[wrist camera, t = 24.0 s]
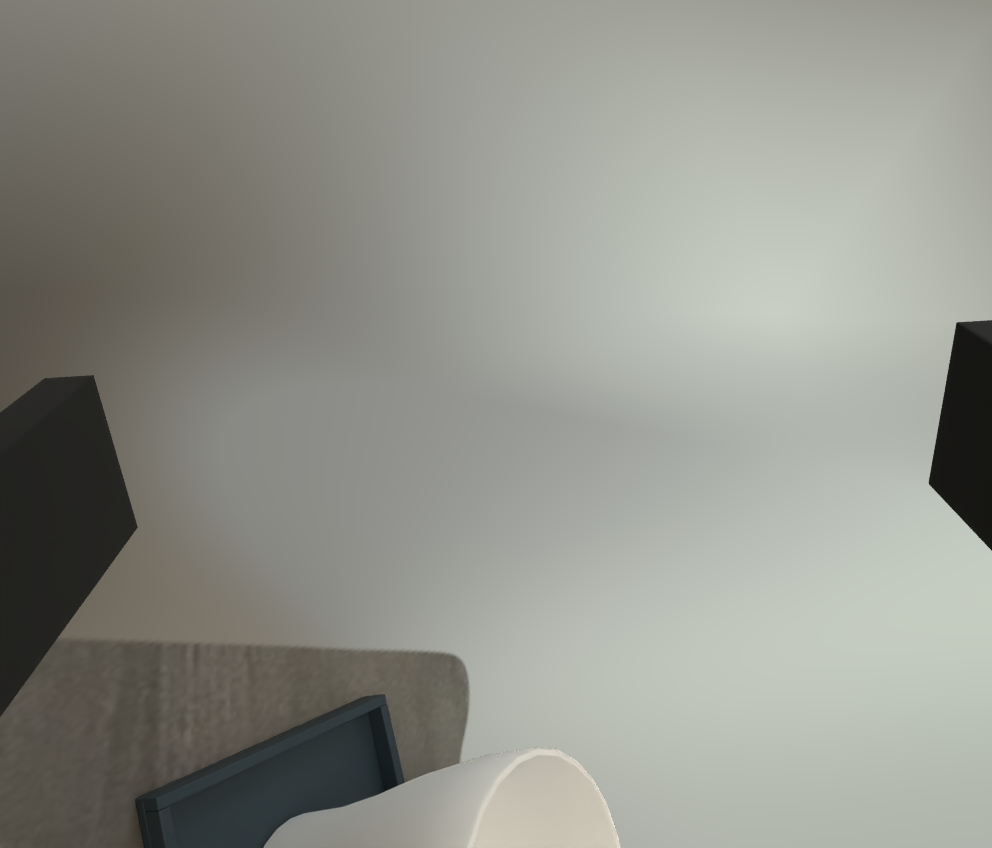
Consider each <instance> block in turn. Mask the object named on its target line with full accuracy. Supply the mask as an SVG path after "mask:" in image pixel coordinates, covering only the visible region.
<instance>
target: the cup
mask: <svg viewBox="0 0 992 848" xmlns="http://www.w3.org/2000/svg"><path fill="white" fill-rule="evenodd" d="M264 848H620V843H619V838H618V834H617V832H616V829H615V826H614V823H613V820H612V817H611V814H610V811H609V808H608V805H607V803H606V801H605V800H604V798H603V796H602V794H601V792H600V790H599V789H598V787H597V785H596V783H595V781H594V780H593V778H592V777H591V776H590V775H589V774H588V773H587V772H586V771H585V769H584V768H583V767H582V766H581V765H580V764H579V763H578V762H577V761H576V760H575V759H573V758H571V757H570V756H568V755H566V754H564V753H563V752H561V751H559V750H557V749H552V748H537V747H535V748H528V749H522V750H516V751H510V752H503V753H497V754H490V755H485V756H482V757H478V758H475V759H472V760H469V761H466V762H462V763H459V764H456V765H453V766H450V767H447V768H443V769H440V770H437V771H434V772H431V773H427V774H425V775H422V776H420V777H417V778H415V779H412V780H410V781H407V782H405V783H403V784H401V785H399V786H396V787H394V788H392V789H390V790H387V791H385V792H383V793H381V794H378V795H376V796H373V797H370V798H367V799H364V800H361V801H358V802H355V803H353V804H350V805H347V806H344V807H339V808H333V809H327V810H321V811H315V812H309V813H303V814H301V815H298V816H296V817H293V818H291V819H289V820H288V821H287V822H285V823H284V824H283V825H281V826H280V827H279V828H278V829H277V830H276V831H275V832H274V833H273V835H272V836H271V837H270V839H269V840H268V841H267V842H266V844H265V846H264Z"/></svg>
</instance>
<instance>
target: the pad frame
mask: <svg viewBox="0 0 992 848" xmlns="http://www.w3.org/2000/svg"><path fill="white" fill-rule="evenodd" d="M386 703H387V702H386V698H385V695H384V694H382V695H373V696H365V697H362V698H360V699H358V700H356V701H353V702H351V703H349V704H347V705H345V706H342V707H340V708H338V709H336V710H333V711H331V712H329V713H327V714H324V715H322V716H320V717H318V718H315V719H313V720H311V721H309V722H306V723H304V724H302V725H300V726H297V727H295V728H293V729H291V730H288V731H286V732H284V733H282V734H279V735H277V736H275V737H273V738H270V739H268V740H266V741H264V742H262V743H259V744H257V745H255V746H253V747H250V748H248V749H246V750H244V751H241V752H239V753H237V754H235V755H232V756H230V757H228V758H226V759H223V760H221V761H219V762H217V763H214V764H212V765H210V766H208V767H205V768H203V769H201V770H199V771H196V772H194V773H192V774H190V775H187V776H185V777H183V778H181V779H179V780H176V781H174V782H172V783H170V784H167V785H165V786H163V787H161V788H158V789H156V790H154V791H152V792H149V793H147V794H145V795H143V796H140V797H138V798H136V805H137V811H138V816H139V821H140V827H141V832H142V837H143V842H144V848H264V846H265V844H266V842H267V841H268V840H269V839H270V837H271V836H272V835H273V833H274V832H275V831H276V830H277V829H278V828H279V827H280V826H281V825H283V824H284V823H285V822H287V821H288V820H289V819H291V818H293V817H296V816H298V815H301V814H303V813H309V812H315V811H321V810H327V809H333V808H339V807H344V806H347V805H350V804H353V803H355V802H358V801H361V800H364V799H367V798H370V797H373V796H376V795H378V794H381V793H383V792H385V791H387V790H390V789H392V788H394V787H396V786H399V785H401V784H403V783H405V782H404V777H403V773H402V768H401V764H400V759H399V755H398V751H397V746H396V742H395V737H394V733H393V728H392V724H391V719H390V715H389V711H388V706H387V704H386Z"/></svg>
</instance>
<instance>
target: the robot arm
mask: <svg viewBox="0 0 992 848" xmlns="http://www.w3.org/2000/svg"><path fill="white" fill-rule="evenodd" d="M929 485H930V486H931V487H932V488H933V489H934V490H935V491H936V492H937V493H938V494H939V495H940V496H941V497H942V498H943V499H944V500H945V502H946V503H948V505H949V506H950V507H951V508H952V509H953V510H954V511H955V512H956V513H957V514H958V515H959V516H960V517H961V518H962V520H963V521H964V522H965V523H966V524H967V525H968V526H969V527H970V528H971V529H972V530H973V531H974V532H975V533H976V534H977V535H978V537H979V538H981V540H982V541H983V542H984V543H985V544H986V545H987V546H988V547H989V548H990V549H991V550H992V320H991V321H974V322H958V323H956V329H955V335H954V341H953V347H952V352H951V358H950V364H949V370H948V375H947V381H946V387H945V392H944V398H943V404H942V409H941V415H940V421H939V427H938V433H937V438H936V444H935V450H934V455H933V461H932V467H931V473H930V478H929ZM136 529H137V524H136V520H135V517H134V513H133V510H132V507H131V503H130V500H129V496H128V493H127V489H126V486H125V482H124V479H123V475H122V473H121V469H120V465H119V462H118V458H117V455H116V451H115V448H114V445H113V441H112V437H111V434H110V431H109V427H108V424H107V420H106V417H105V414H104V410H103V406H102V403H101V400H100V396H99V393H98V390H97V386H96V382H95V379H94V376H93V375H92V376H75V377H59V378H45V379H43V380H42V381H41V382H39V383H38V384H37V385H35V386H34V387H33V388H32V389H30V390H29V391H28V392H26V393H25V394H24V395H23V396H21V397H20V398H19V399H17V400H16V401H15V402H14V403H12V404H11V405H10V406H8V407H7V408H6V409H4V410H3V411H2V412H0V716H1V715H2V714H3V712H4V711H5V710H6V708H7V707H8V705H9V704H10V703H11V701H12V700H13V699H14V697H15V696H16V694H17V693H18V692H19V690H20V689H21V688H22V686H23V685H24V683H25V682H26V681H27V679H28V678H29V676H30V675H31V674H32V672H33V671H34V670H35V668H36V667H37V665H38V664H39V663H40V661H41V660H42V659H43V657H44V656H45V654H46V653H47V652H48V650H49V649H50V647H51V646H52V645H53V643H54V642H55V641H56V639H57V638H58V636H59V635H60V634H61V632H62V631H63V630H64V628H65V627H66V625H67V624H68V622H69V621H70V620H71V618H72V617H73V616H74V614H75V613H76V612H77V610H78V609H79V607H80V606H81V605H82V603H83V602H84V601H85V599H86V598H87V596H88V595H89V594H90V592H91V591H92V590H93V588H94V587H95V585H96V584H97V583H98V581H99V580H100V579H101V577H102V576H103V574H104V573H105V572H106V570H107V569H108V567H109V566H110V564H111V563H112V562H113V561H114V559H115V557H116V556H117V555H118V554H119V552H120V551H121V550H122V548H123V547H124V545H125V544H126V543H127V541H128V540H129V539H130V537H131V536H132V534H133V533H134V531H135V530H136Z"/></svg>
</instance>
